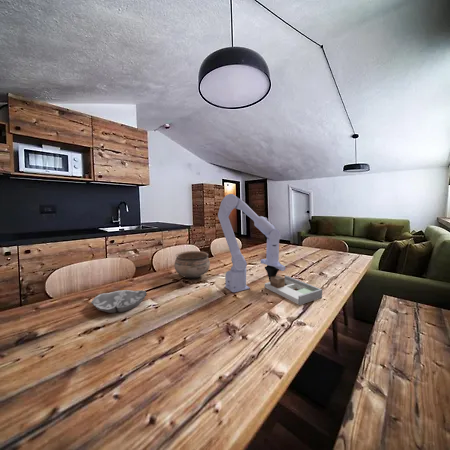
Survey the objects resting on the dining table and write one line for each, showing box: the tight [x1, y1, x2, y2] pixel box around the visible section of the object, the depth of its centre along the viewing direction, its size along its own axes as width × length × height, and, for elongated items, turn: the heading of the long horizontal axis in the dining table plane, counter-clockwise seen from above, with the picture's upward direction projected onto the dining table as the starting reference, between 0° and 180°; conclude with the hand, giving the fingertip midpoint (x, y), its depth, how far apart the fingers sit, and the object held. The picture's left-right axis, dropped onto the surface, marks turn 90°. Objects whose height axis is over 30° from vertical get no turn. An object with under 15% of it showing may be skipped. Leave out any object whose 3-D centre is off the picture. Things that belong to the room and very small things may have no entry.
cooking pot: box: [173, 250, 211, 280], centre depth 117 cm, size 25×19×12 cm
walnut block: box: [269, 274, 286, 288], centre depth 101 cm, size 4×4×4 cm
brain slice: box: [91, 289, 147, 314], centre depth 85 cm, size 20×17×3 cm
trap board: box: [264, 275, 323, 306], centre depth 98 cm, size 14×21×4 cm, turn 31°
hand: (271, 281), depth 104 cm, fingers closed
